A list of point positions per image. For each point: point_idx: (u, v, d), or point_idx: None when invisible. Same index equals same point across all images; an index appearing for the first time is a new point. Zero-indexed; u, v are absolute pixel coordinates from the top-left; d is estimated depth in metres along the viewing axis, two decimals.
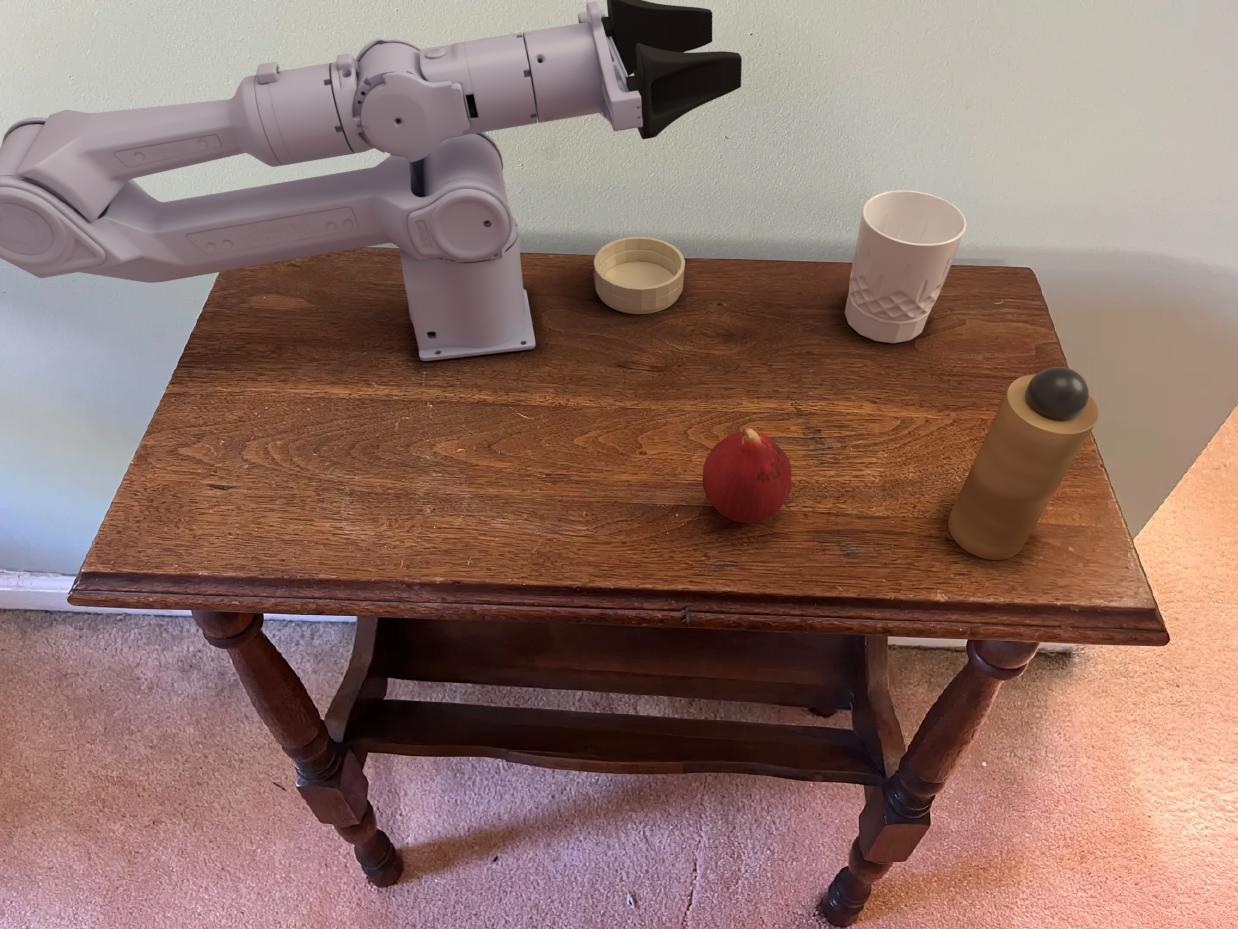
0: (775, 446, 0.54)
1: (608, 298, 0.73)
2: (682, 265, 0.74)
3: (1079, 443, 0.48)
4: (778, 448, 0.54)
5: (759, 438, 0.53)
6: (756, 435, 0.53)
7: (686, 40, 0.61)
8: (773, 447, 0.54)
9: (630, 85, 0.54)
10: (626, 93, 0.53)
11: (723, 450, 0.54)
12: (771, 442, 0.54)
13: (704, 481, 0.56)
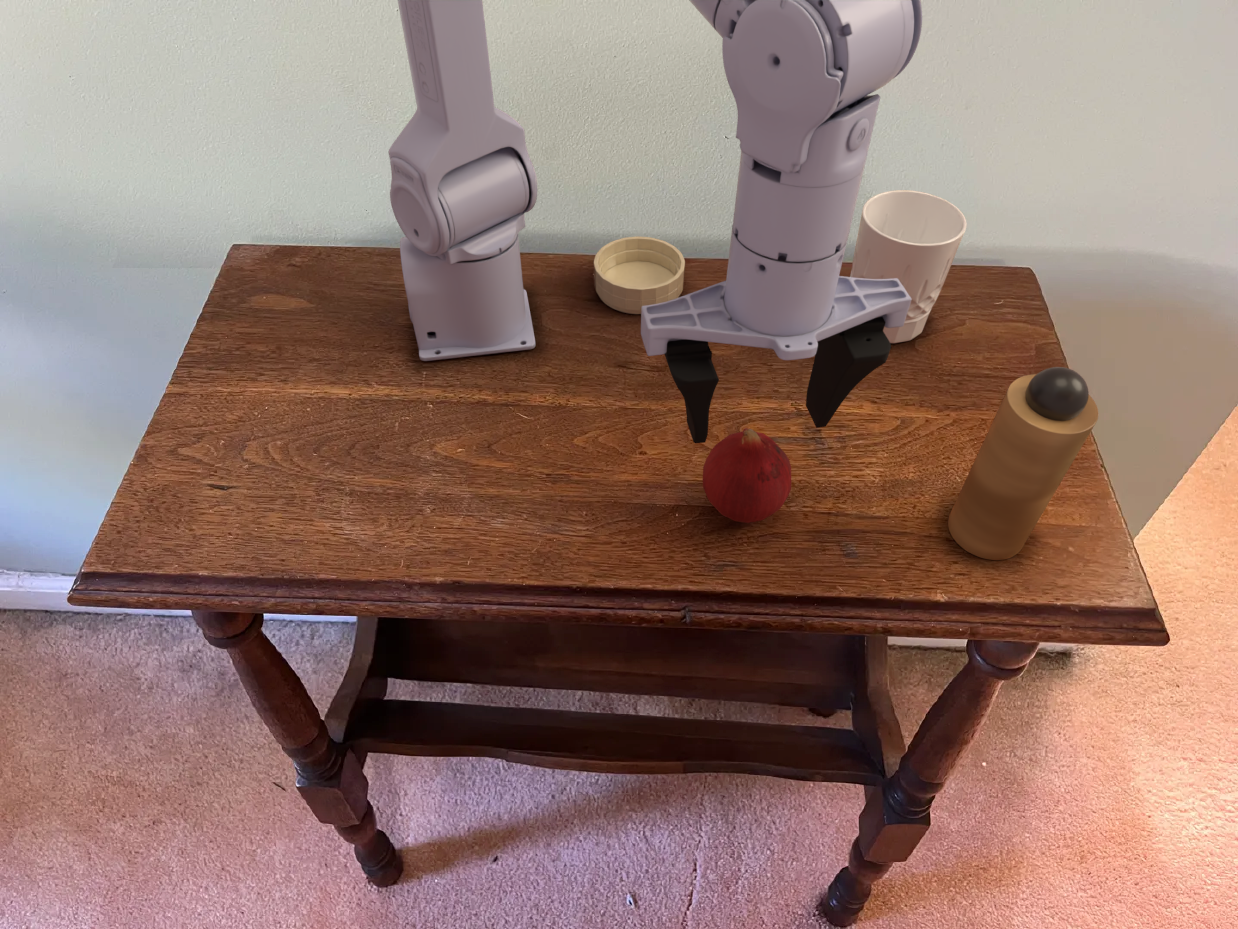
0: (775, 446, 0.54)
1: (608, 298, 0.73)
2: (682, 265, 0.74)
3: (1079, 443, 0.48)
4: (778, 448, 0.54)
5: (759, 438, 0.53)
6: (756, 435, 0.53)
7: (813, 386, 0.52)
8: (773, 447, 0.54)
9: (684, 346, 0.46)
10: (661, 343, 0.45)
11: (723, 450, 0.54)
12: (771, 442, 0.54)
13: (704, 481, 0.56)
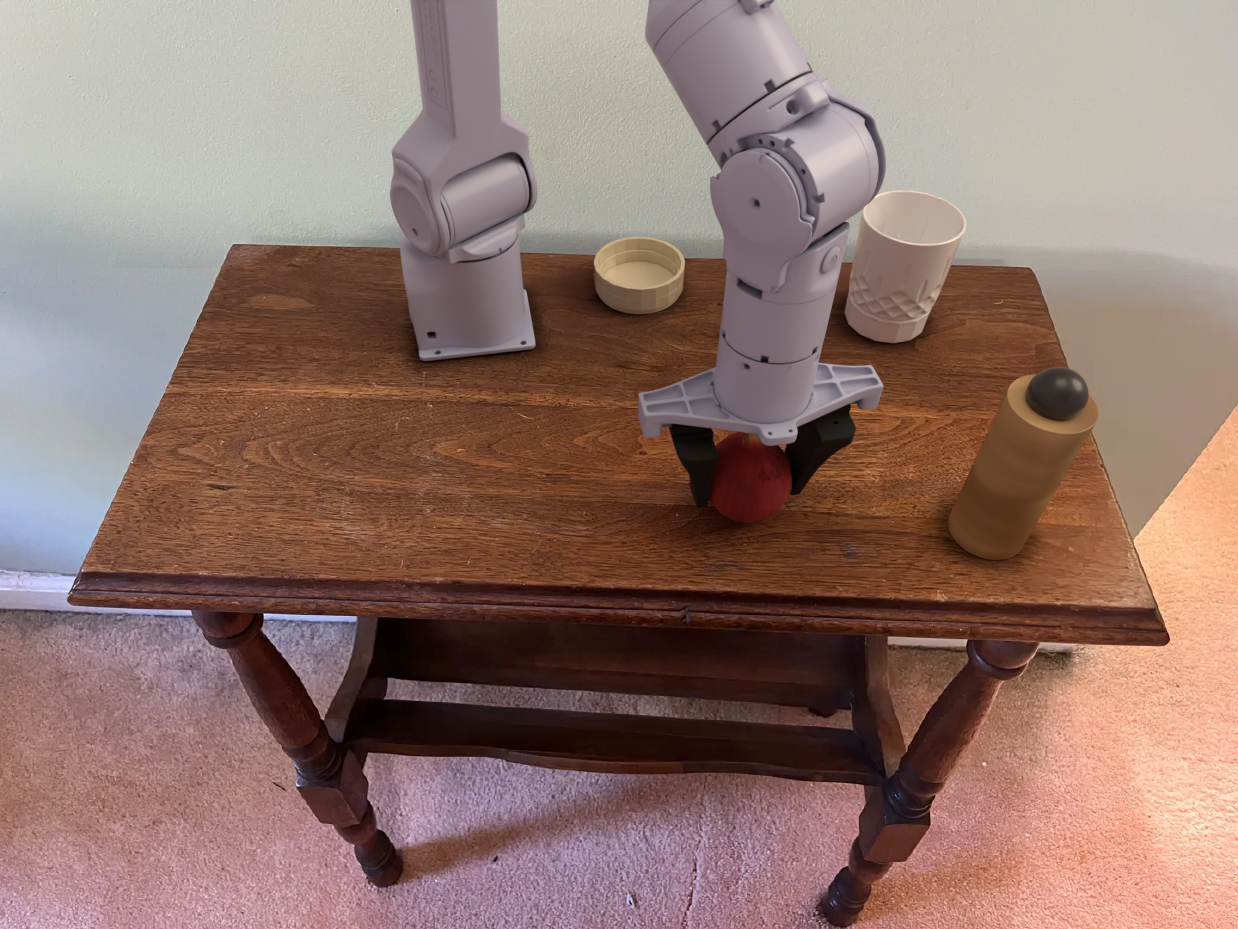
0: (775, 446, 0.54)
1: (608, 298, 0.73)
2: (682, 265, 0.74)
3: (1079, 443, 0.48)
4: (778, 448, 0.54)
5: (759, 438, 0.53)
6: (756, 435, 0.53)
7: None
8: (774, 447, 0.54)
9: (677, 429, 0.50)
10: (656, 427, 0.50)
11: (723, 450, 0.54)
12: None
13: None
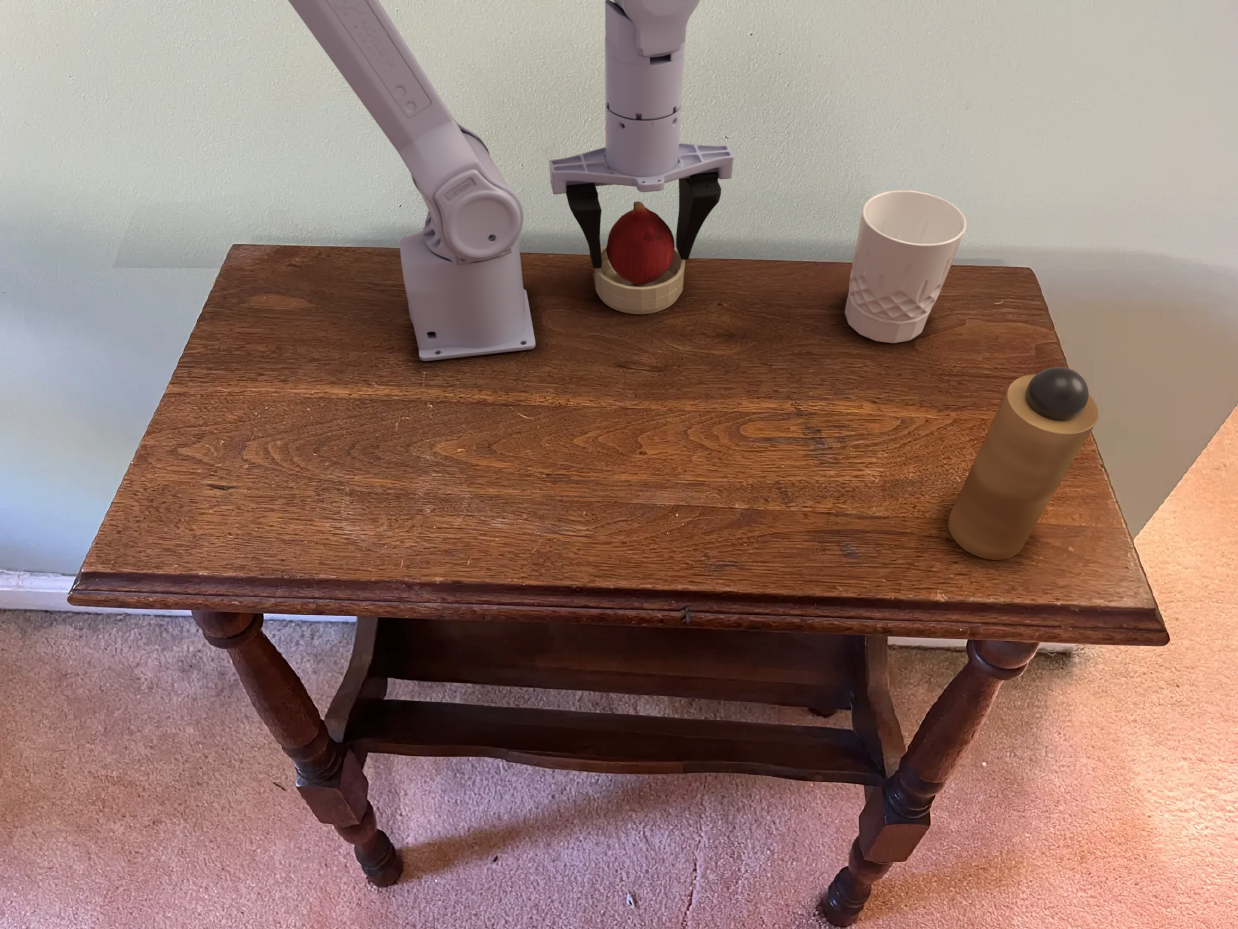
0: (659, 217, 0.71)
1: (608, 298, 0.73)
2: (682, 265, 0.74)
3: (1079, 443, 0.48)
4: (661, 219, 0.71)
5: (645, 208, 0.70)
6: (642, 205, 0.70)
7: (679, 230, 0.73)
8: (657, 217, 0.71)
9: (578, 187, 0.67)
10: (562, 184, 0.66)
11: (619, 221, 0.71)
12: (656, 214, 0.71)
13: (607, 249, 0.73)
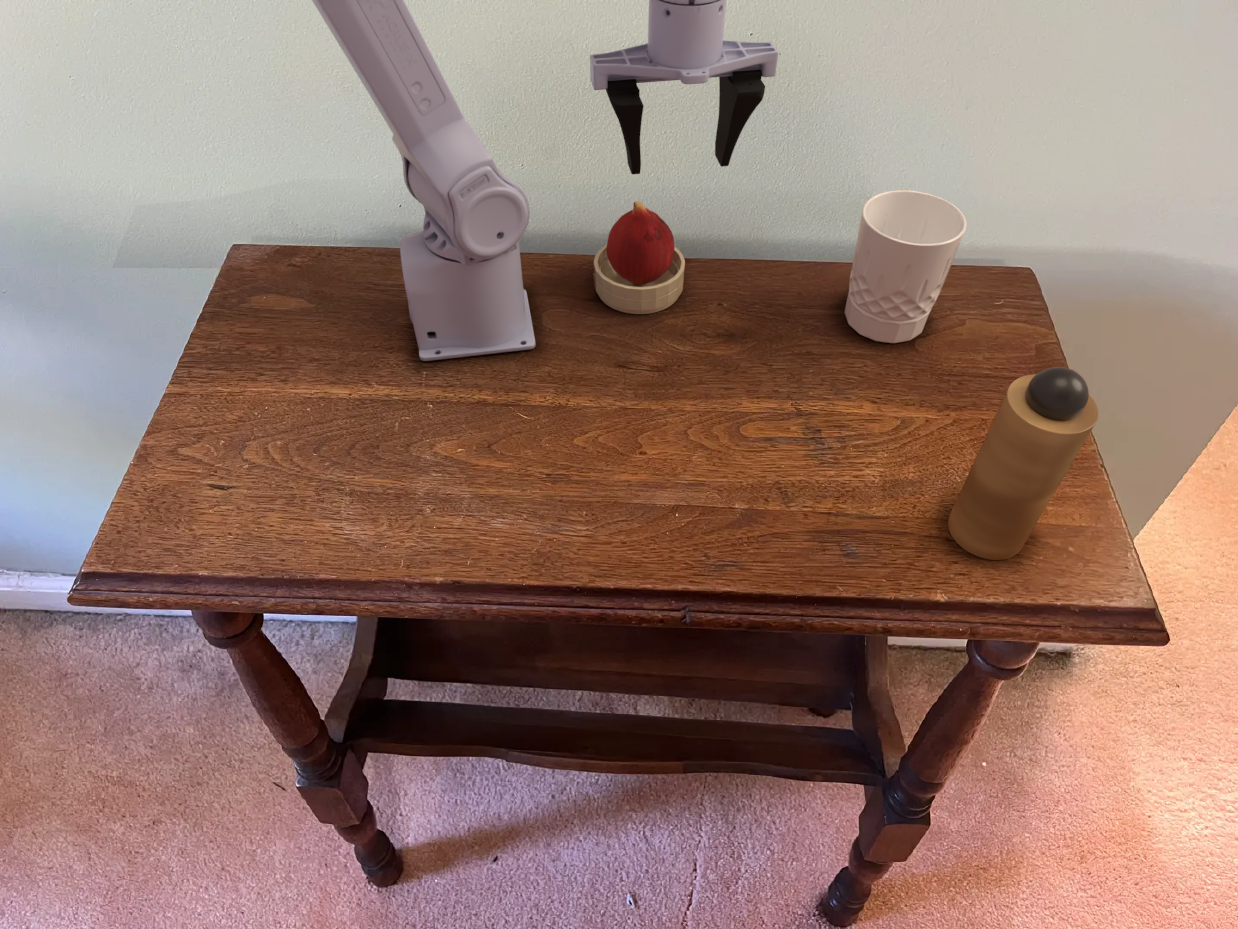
0: (659, 217, 0.71)
1: (608, 298, 0.73)
2: (682, 265, 0.74)
3: (1079, 443, 0.48)
4: (661, 219, 0.71)
5: (645, 208, 0.70)
6: (642, 205, 0.70)
7: (718, 135, 0.72)
8: (657, 217, 0.71)
9: (620, 83, 0.66)
10: (603, 79, 0.65)
11: (619, 221, 0.71)
12: (656, 214, 0.71)
13: (607, 249, 0.73)
